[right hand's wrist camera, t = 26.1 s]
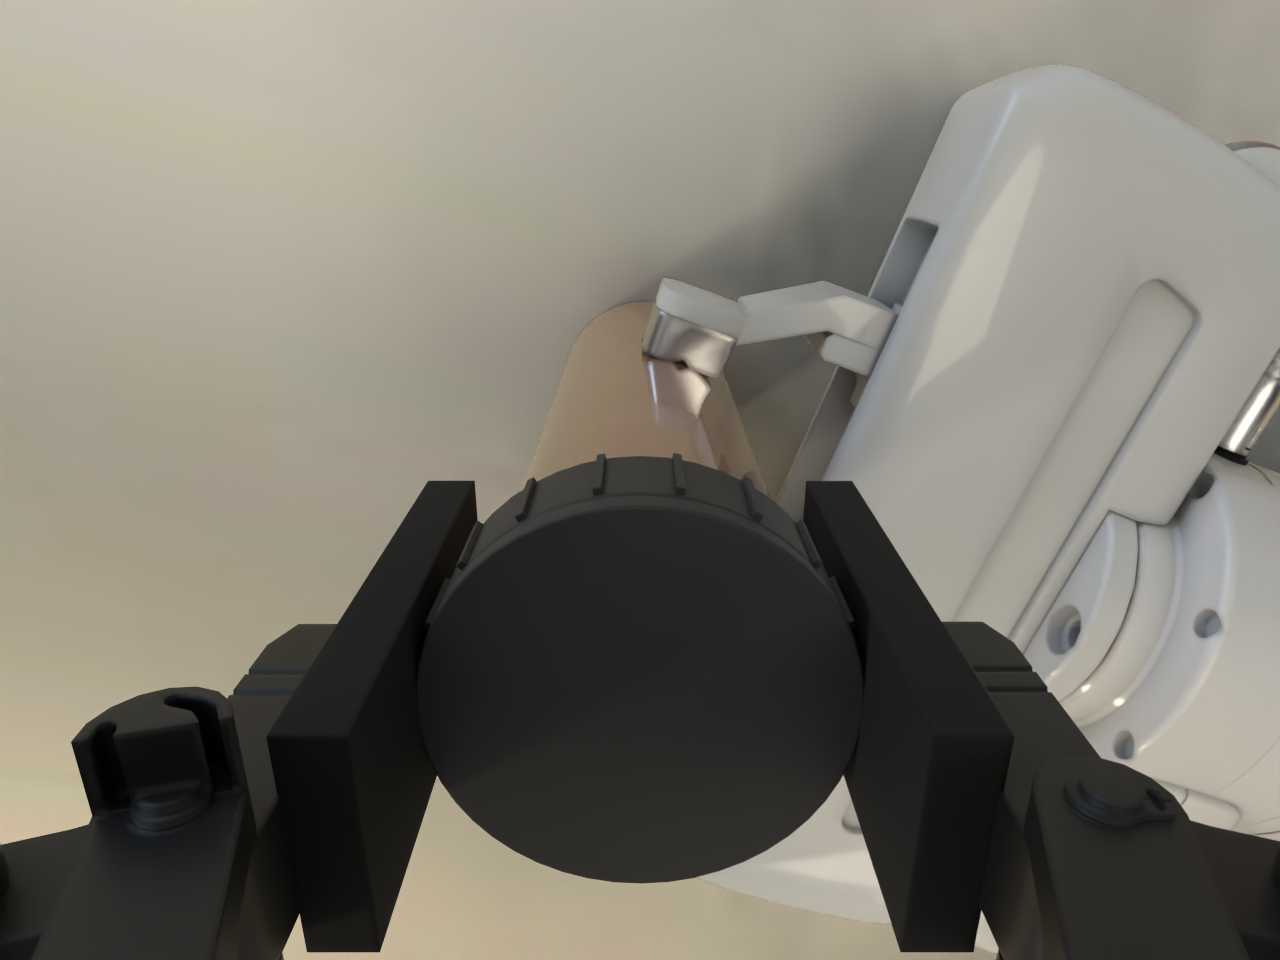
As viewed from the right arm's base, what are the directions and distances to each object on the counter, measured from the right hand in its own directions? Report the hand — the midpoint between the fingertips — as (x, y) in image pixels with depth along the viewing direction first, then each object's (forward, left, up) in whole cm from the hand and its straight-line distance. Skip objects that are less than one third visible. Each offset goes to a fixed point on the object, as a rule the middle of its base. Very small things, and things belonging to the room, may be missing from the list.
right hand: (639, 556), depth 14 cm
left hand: (-1, +1, -6) cm, 6 cm away
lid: (0, 0, +4) cm, 4 cm away
